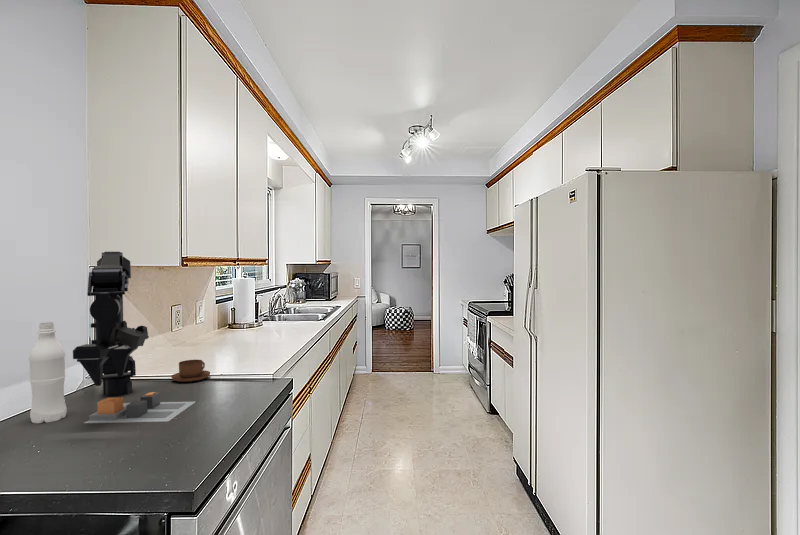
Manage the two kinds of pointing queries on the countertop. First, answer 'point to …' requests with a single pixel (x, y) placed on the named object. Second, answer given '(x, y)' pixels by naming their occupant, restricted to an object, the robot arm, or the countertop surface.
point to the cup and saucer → (191, 371)
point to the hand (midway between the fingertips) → (109, 380)
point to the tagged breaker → (151, 399)
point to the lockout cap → (110, 405)
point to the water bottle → (47, 376)
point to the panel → (176, 411)
